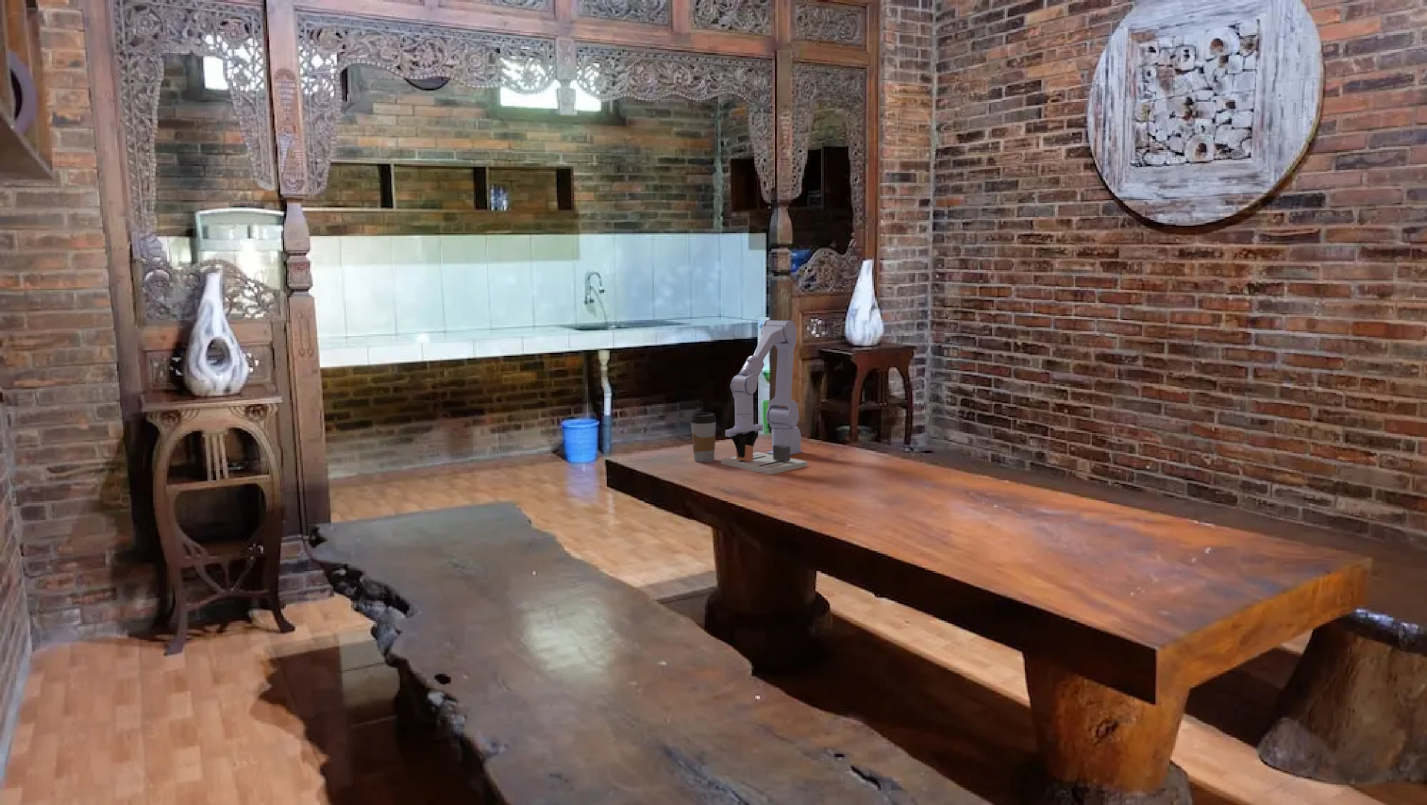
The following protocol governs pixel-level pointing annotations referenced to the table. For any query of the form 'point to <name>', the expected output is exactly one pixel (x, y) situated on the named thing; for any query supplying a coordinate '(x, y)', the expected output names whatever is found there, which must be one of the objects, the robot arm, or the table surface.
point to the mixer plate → (764, 463)
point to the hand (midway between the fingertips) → (744, 456)
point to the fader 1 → (746, 453)
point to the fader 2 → (781, 453)
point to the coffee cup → (703, 436)
